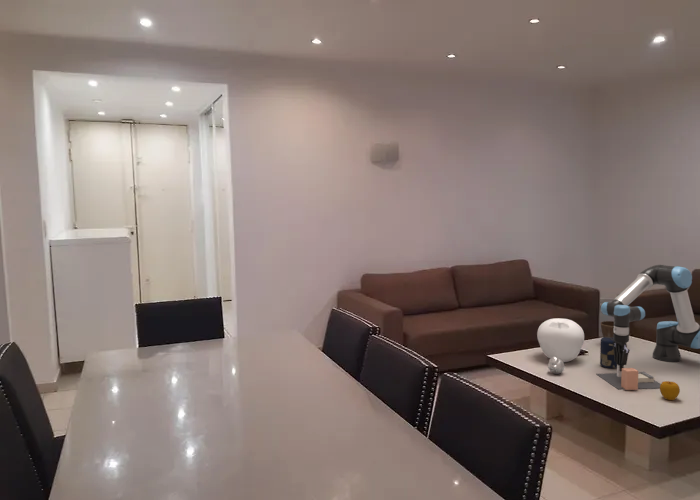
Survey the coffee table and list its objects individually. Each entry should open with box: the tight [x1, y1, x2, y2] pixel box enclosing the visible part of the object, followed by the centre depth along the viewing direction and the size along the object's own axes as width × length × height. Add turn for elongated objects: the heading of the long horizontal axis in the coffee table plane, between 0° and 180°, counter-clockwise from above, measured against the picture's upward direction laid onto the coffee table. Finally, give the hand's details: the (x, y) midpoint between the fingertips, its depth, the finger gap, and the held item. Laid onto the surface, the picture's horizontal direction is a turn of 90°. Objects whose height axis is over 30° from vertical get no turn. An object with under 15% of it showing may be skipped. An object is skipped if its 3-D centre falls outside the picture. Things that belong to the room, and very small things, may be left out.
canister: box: [599, 337, 617, 369], centre depth 309 cm, size 10×10×18 cm
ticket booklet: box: [638, 371, 655, 383], centre depth 285 cm, size 14×9×3 cm, turn 91°
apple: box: [659, 380, 681, 401], centre depth 259 cm, size 9×8×9 cm
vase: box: [536, 317, 585, 363], centre depth 323 cm, size 28×27×25 cm
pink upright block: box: [621, 367, 639, 391], centre depth 273 cm, size 6×5×10 cm
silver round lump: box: [547, 357, 566, 375], centre depth 299 cm, size 9×10×10 cm
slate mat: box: [596, 372, 661, 390], centre depth 285 cm, size 26×24×1 cm
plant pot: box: [600, 320, 614, 338], centre depth 349 cm, size 15×15×16 cm
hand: (620, 376), depth 283 cm, fingers closed
